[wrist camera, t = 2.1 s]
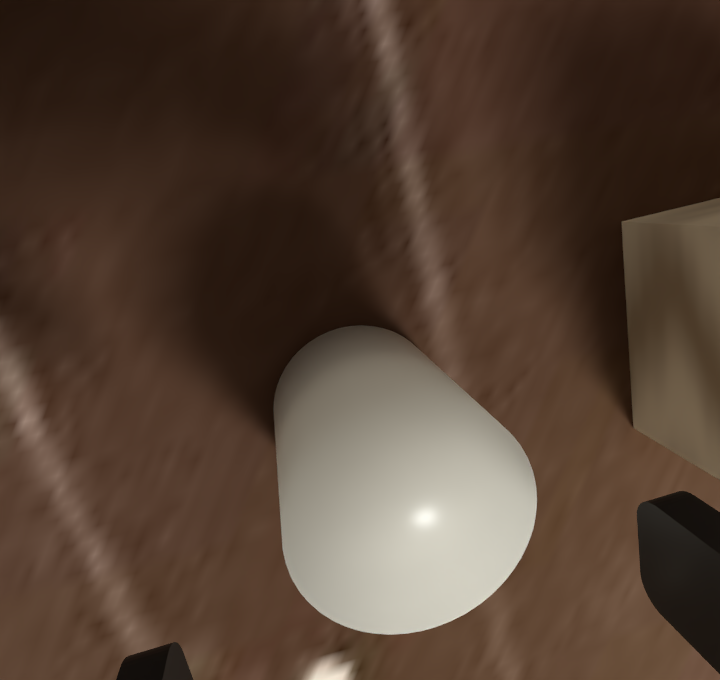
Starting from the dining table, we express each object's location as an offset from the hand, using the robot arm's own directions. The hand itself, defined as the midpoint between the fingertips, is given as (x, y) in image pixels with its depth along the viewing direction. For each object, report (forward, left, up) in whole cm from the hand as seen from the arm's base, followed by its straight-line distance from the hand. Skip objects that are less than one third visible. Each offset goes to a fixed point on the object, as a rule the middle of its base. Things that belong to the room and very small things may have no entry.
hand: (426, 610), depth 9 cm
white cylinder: (-1, 0, -7) cm, 7 cm away
